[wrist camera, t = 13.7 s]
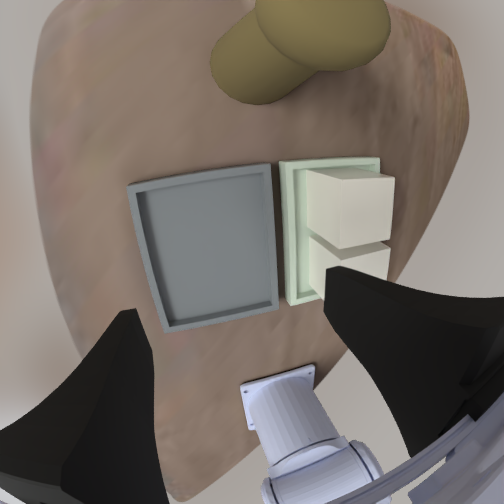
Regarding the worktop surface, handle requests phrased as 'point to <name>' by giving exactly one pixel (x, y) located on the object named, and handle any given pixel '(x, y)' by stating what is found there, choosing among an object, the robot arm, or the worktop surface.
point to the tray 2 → (305, 218)
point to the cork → (296, 45)
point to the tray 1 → (208, 244)
